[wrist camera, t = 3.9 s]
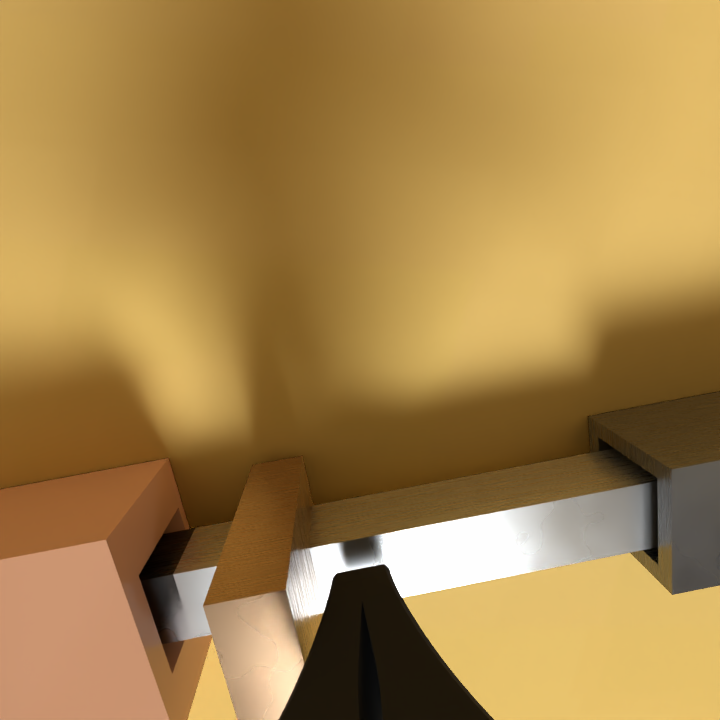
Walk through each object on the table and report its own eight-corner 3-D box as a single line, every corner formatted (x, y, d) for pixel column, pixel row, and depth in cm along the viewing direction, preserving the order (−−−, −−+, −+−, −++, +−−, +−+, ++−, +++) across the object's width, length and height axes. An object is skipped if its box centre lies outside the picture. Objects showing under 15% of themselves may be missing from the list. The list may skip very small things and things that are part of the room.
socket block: (168, 458, 14) (106, 539, 10) (217, 620, 15) (179, 747, 11) (-32, 495, 14) (-175, 593, 10) (37, 655, 15) (-64, 795, 11)
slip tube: (773, 367, 14) (1050, 440, 9) (765, 511, 15) (1003, 654, 10) (151, 484, 13) (34, 638, 8) (195, 622, 15) (118, 836, 9)
